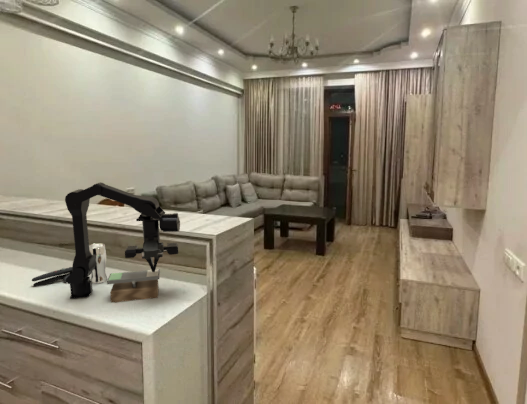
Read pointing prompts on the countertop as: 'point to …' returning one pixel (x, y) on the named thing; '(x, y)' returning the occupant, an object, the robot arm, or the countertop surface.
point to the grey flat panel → (133, 276)
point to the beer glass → (98, 263)
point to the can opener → (52, 274)
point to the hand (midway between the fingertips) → (153, 271)
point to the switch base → (134, 291)
